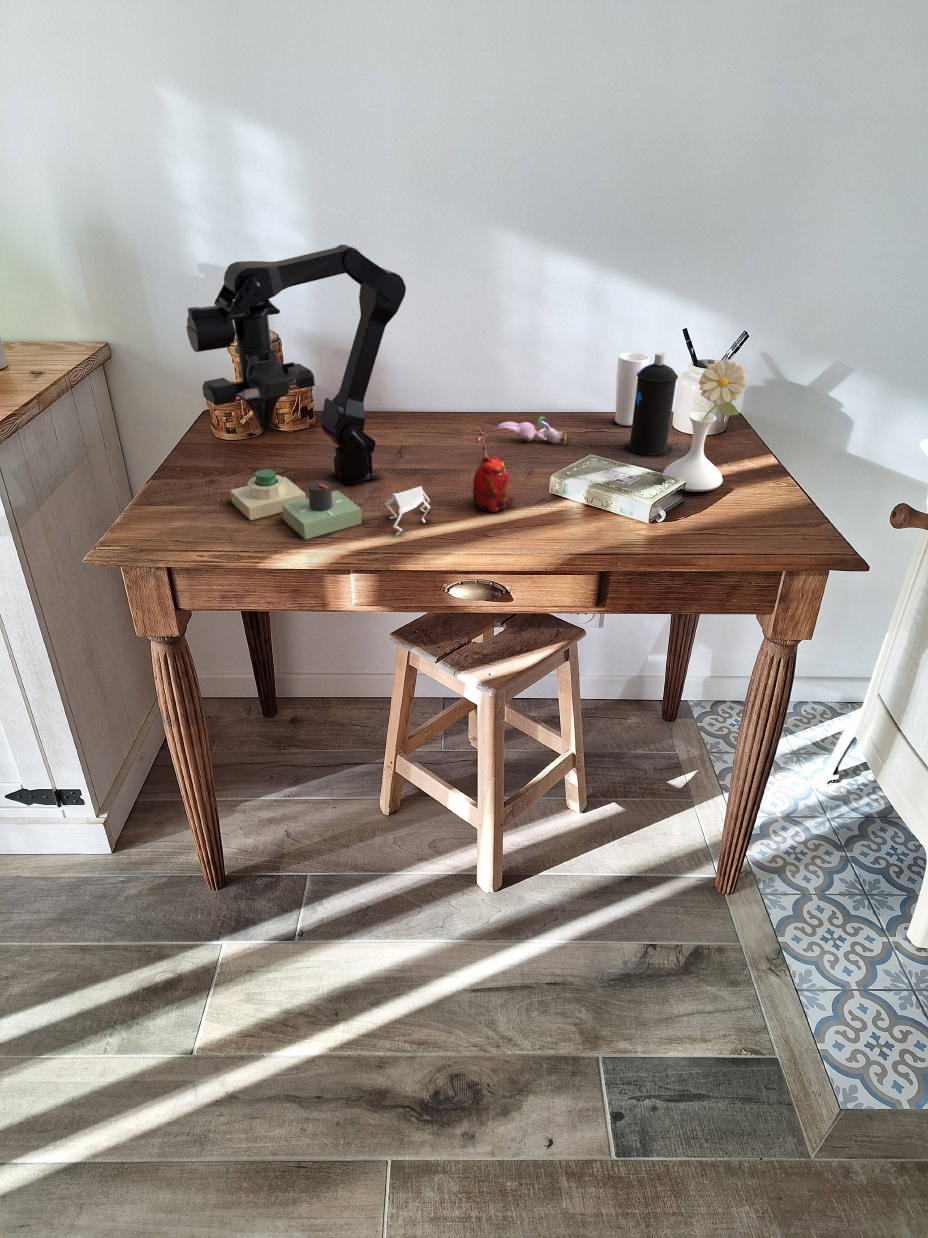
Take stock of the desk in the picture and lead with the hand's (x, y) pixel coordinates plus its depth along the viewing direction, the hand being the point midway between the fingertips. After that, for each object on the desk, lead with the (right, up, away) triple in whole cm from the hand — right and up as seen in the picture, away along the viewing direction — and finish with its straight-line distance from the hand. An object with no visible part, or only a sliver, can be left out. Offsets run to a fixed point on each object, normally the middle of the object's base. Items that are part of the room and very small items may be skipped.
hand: (265, 430), depth 153 cm
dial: (+11, -14, -3) cm, 18 cm away
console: (+11, -17, -2) cm, 20 cm away
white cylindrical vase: (+73, +11, +41) cm, 84 cm away
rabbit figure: (+51, +5, +31) cm, 60 cm away
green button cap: (0, -9, +2) cm, 9 cm away
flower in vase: (+81, -8, +12) cm, 82 cm away
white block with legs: (+26, -17, -2) cm, 31 cm away
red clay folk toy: (+41, -13, +4) cm, 43 cm away
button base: (0, -13, +4) cm, 13 cm away
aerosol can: (+75, +2, +28) cm, 80 cm away
